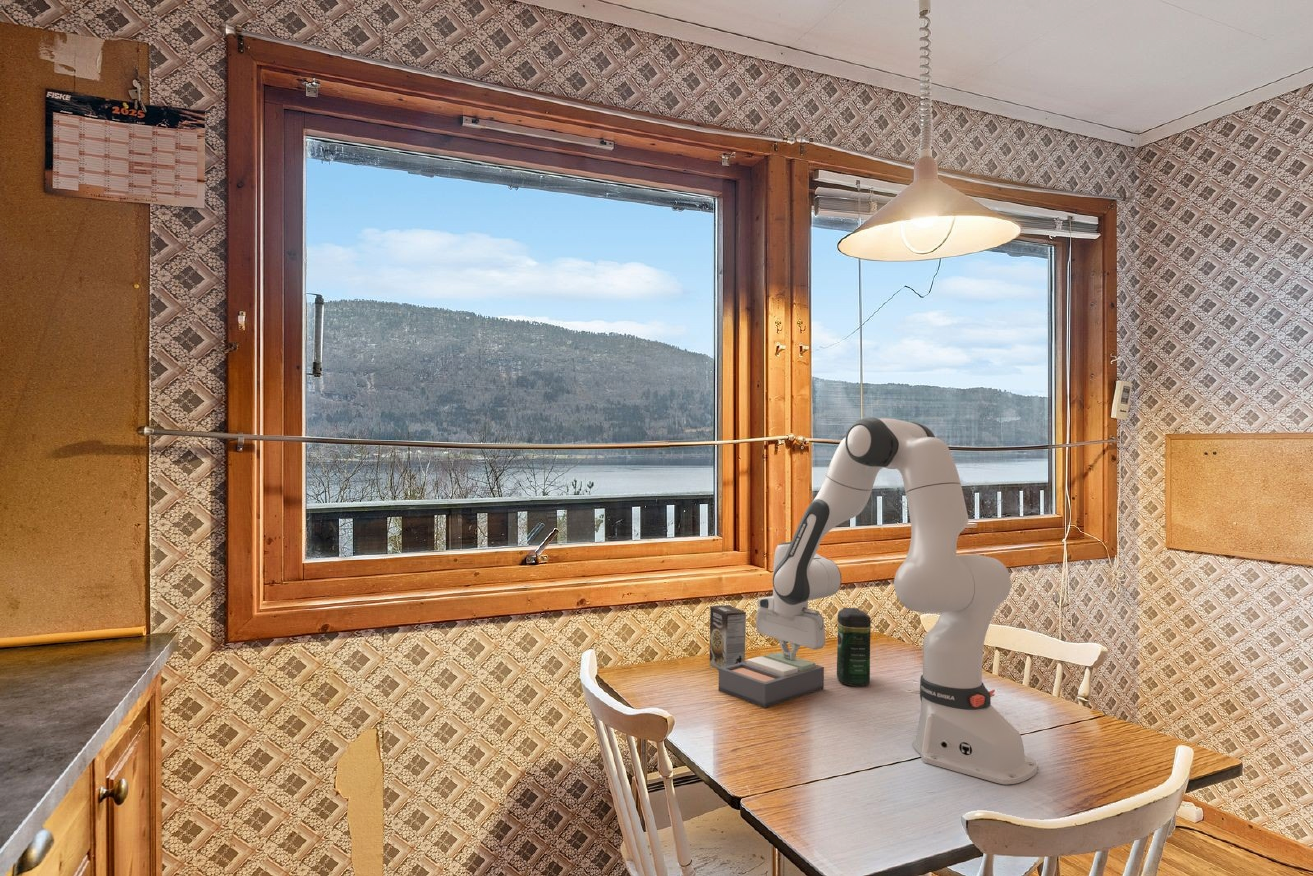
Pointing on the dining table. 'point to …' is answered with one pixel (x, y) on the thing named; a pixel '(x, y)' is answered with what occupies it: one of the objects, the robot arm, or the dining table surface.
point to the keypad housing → (769, 684)
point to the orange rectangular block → (753, 674)
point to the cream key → (772, 666)
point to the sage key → (791, 661)
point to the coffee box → (727, 636)
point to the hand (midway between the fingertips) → (789, 658)
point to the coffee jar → (853, 647)
